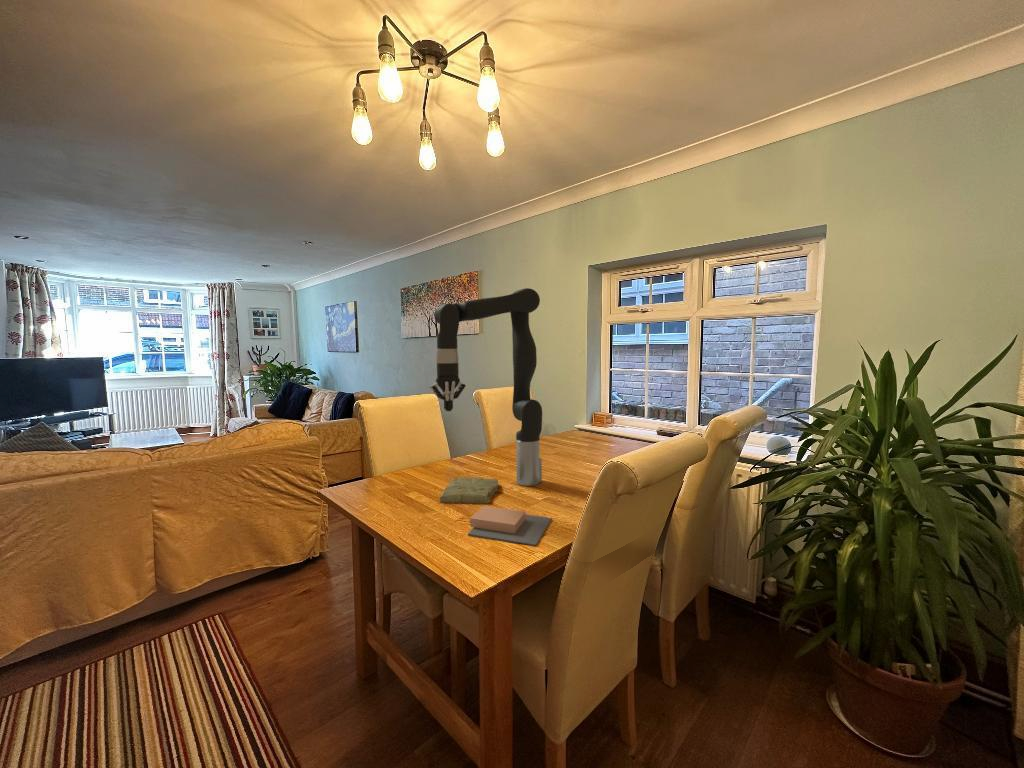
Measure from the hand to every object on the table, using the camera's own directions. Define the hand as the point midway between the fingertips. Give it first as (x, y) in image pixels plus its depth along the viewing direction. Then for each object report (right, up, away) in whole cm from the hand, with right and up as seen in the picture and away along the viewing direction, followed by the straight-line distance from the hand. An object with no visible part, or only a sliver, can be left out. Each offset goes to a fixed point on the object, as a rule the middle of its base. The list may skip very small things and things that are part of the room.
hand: (448, 410), depth 142 cm
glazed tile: (+12, -31, -20) cm, 38 cm away
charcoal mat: (+22, -33, -23) cm, 46 cm away
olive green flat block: (+8, -31, +6) cm, 33 cm away
